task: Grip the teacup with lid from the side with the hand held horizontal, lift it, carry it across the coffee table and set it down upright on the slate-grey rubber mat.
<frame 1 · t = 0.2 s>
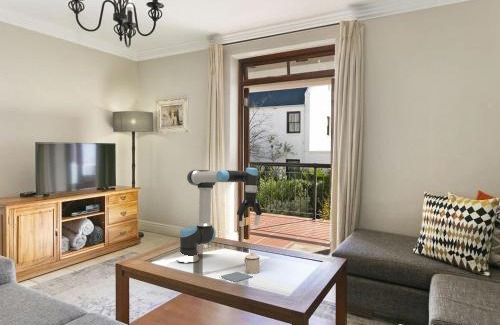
hand: (249, 225, 195), 28 cm above the table, tool pointing down, fingers open, 13 cm apart
mat: (236, 277, 179), on the table
teacup with lid: (250, 271, 191), on the table
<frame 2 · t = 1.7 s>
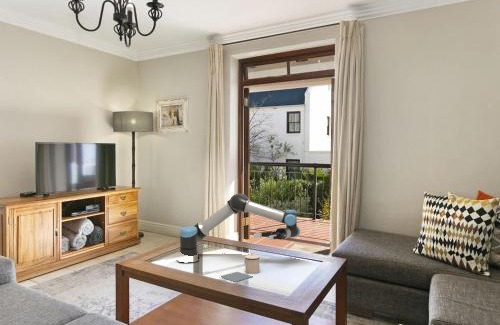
hand: (261, 237, 200), 20 cm above the table, tool horizontal, fingers open, 13 cm apart
nothing on the table moved.
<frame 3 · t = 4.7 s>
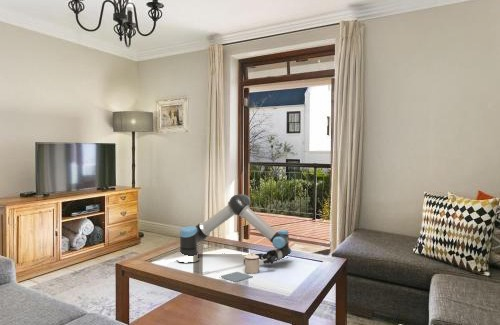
hand: (251, 260, 192), 6 cm above the table, tool horizontal, fingers open, 13 cm apart
teacup with lid: (250, 271, 191), on the table, touching gripper
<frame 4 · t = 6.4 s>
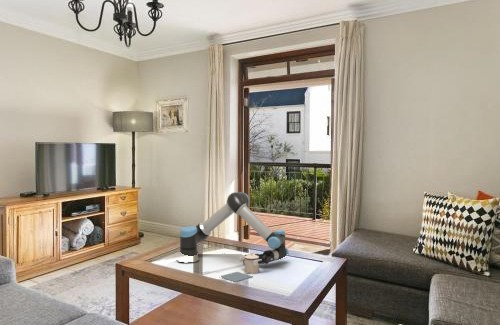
hand: (246, 261, 189), 7 cm above the table, tool horizontal, fingers closed on teacup with lid, 12 cm apart
teacup with lid: (250, 271, 191), on the table, touching gripper
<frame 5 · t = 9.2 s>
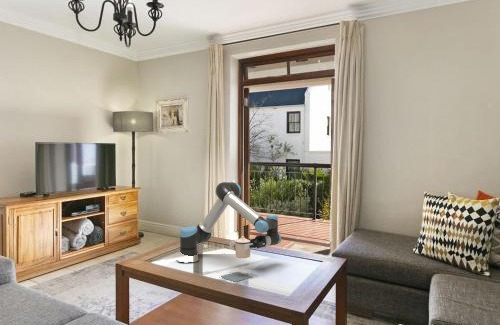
hand: (237, 245, 181), 18 cm above the table, tool horizontal, fingers closed on teacup with lid, 12 cm apart
teacup with lid: (241, 256, 183), point 11 cm above the table, touching gripper
when the fingers open (7 cm above the table, at t = 12.3 s): teacup with lid stays where it is, resting on mat.
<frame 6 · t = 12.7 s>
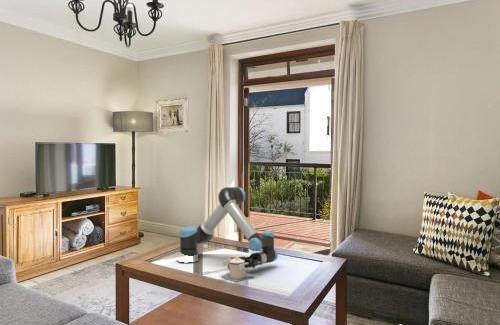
hand: (231, 264, 177), 7 cm above the table, tool horizontal, fingers open, 13 cm apart
teacup with lid: (235, 277, 178), resting on mat
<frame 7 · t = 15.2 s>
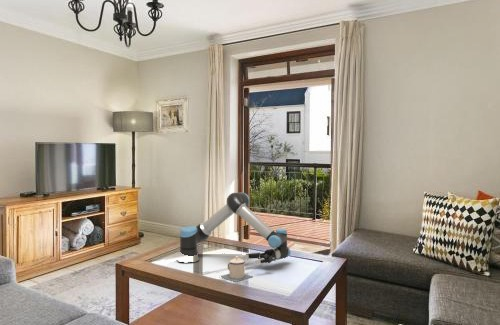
hand: (248, 260, 186), 8 cm above the table, tool horizontal, fingers open, 13 cm apart
nothing on the table moved.
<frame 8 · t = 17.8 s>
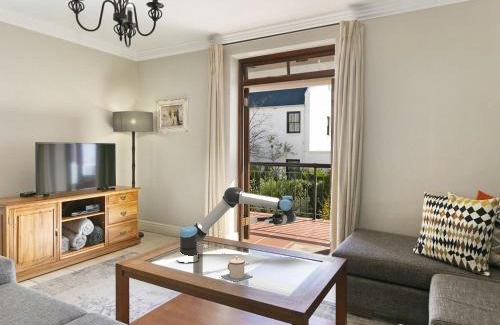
hand: (257, 221, 198), 30 cm above the table, tool horizontal, fingers open, 13 cm apart
nothing on the table moved.
at the end: teacup with lid inside the target area on the mat (0.7 cm from its centre), point 0.2 cm above the mat's base; teacup with lid tilted 0°; the gripper is holding nothing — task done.
